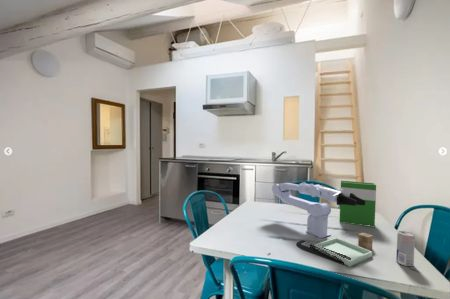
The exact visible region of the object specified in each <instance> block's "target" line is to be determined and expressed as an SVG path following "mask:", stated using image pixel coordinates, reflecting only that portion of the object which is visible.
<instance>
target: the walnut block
mask: <svg viewBox="0 0 450 299" xmlns="http://www.w3.org/2000/svg"><path fill="white" fill-rule="evenodd" d="M373 236H374V235H373V234H369V233H366V232H361V233H358V236H357V237H358V240H357V241H358V242H357V243H358V244H357V246H359V247H362V248H364V249H367V250H369V251H371V250H372V249H373V241H374V240H373V239H374V238H373ZM370 249H371V250H370Z"/></svg>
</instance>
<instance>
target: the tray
mask: <svg viewBox="0 0 450 299" xmlns="http://www.w3.org/2000/svg"><path fill="white" fill-rule="evenodd" d="M314 246H316V247H318V248H320V249H322V250H324V251H326V252H327V253H329V254H332V255H334V256H336V257H337V258H339V259H341V260H342V261H343V262H344V264H343V265H345V266H347V267H351V268H352V267H353V266H355V265H358V264H360V263H362V262H365V261H367V260H369V259H371V258H373V251H371V250H367V249H364V248H362V247H359V246H358V244H357V245H356V244H354V243H352V242H349V241H346V240H344V239H341V238H339V237H334V238H331V239H327V240H324V241H321V242H318V243H315V244H313V247H314ZM320 246H322V247H324V248H326V249H329V250H332V251H335V252H337V253H340V254H343V255H346V256H348V257H350V258H351V260H348V259H346V258H343V257H341V256H339V255H337V254H335V253H333V252H331V251H329V250H326V249H324V248H322V247H320Z"/></svg>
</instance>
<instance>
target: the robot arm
mask: <svg viewBox="0 0 450 299" xmlns="http://www.w3.org/2000/svg"><path fill="white" fill-rule="evenodd" d="M271 190H272V193H273V196H275V197H278V199H280V200H281V201H282V203H284V204H287V205H289V206H293V207H295V208H297V209H298V208H299V209H301V210H304V211H307V214H309V216H307V220H306V221H307V222H306V230H305V232H306V233H308V234H311V235H312V236H315V237H318V238H320V239H323V238H325V237H329V236H332V234H331V233H329V232H328V223H329V222H328V220H329V215H330V214H331V212H332V208H331V206H330V205H329V204H328V203H327V202H321V203H320V202H314V201H309V200H306V199H303V198H301V197H296V196H294V195H292V192H291V190H292V191H298V192H299V194H303V195H307V196H311V197H312V198H316V197H318V198H321V199H323V200H327V201H330V202H334V203H335V204H336V205H337V206H340V205H353V206H356V205H365V203H366V201H365V200H363V199H361V198H359V197H357V196H356V195H355V194H353V193H350V196H349V195H347V194H346V193H345V192H344V190H343V189H341V188H340V190H337V189H332V188H329V187H324V186H323V185H322V184H321V185H320V184H314V183H307V182H301V183H299V184H296V183H292V182H283V183H274V184H273V185H272V187H271Z"/></svg>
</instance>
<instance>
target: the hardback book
mask: <svg viewBox="0 0 450 299" xmlns="http://www.w3.org/2000/svg"><path fill="white" fill-rule="evenodd" d="M341 189H343V190H344V192H345V193H346V194H347V195H349V196H350V193H353V194H355V195H356V196H357V197H359V198H361V199H363V200H365V201H366V203H365V205H356V206H353V205H339V223H343V222H345V223H344V224H350V223H354V224H353V225H356V224H362V225H361V226H363V225H370V226H375V224H376V222H375V221H376V203H377V201H376V199H377V184H376V183H374V182H366V181H365V182H364V181H351V180H340V190H341ZM375 227H376V226H375Z"/></svg>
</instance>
